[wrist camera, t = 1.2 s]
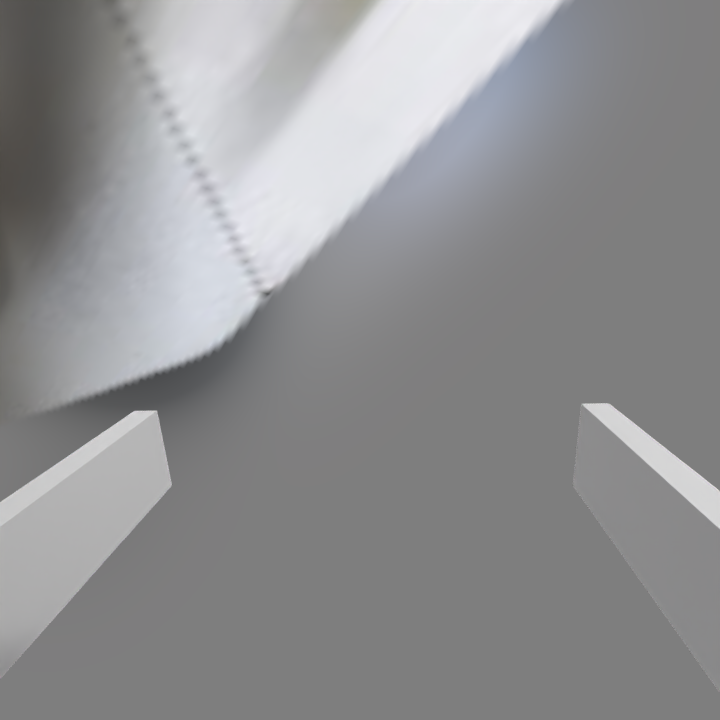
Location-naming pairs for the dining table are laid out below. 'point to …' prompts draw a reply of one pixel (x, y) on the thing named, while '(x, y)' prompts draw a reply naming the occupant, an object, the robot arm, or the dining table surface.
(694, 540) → the robot arm
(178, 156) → the dining table surface
